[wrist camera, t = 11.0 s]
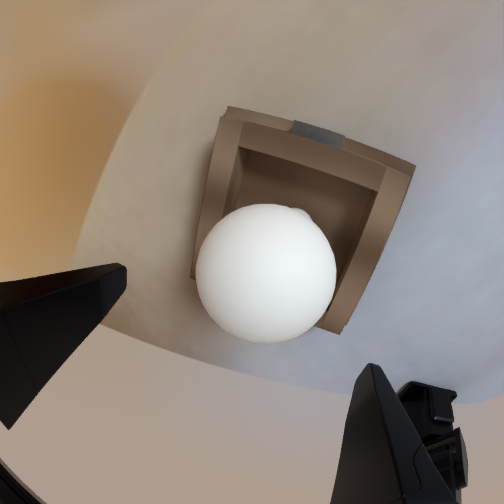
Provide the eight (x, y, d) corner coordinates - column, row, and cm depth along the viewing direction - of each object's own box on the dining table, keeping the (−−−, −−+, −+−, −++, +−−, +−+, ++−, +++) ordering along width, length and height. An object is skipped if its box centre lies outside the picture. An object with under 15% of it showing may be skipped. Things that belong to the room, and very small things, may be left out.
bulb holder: (346, 317, 23) (344, 345, 20) (200, 263, 25) (180, 282, 22) (413, 162, 17) (426, 168, 14) (233, 105, 19) (212, 101, 16)
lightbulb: (241, 193, 20) (144, 253, 11) (324, 166, 18) (298, 203, 8) (270, 271, 22) (208, 375, 12) (351, 252, 19) (346, 365, 10)
